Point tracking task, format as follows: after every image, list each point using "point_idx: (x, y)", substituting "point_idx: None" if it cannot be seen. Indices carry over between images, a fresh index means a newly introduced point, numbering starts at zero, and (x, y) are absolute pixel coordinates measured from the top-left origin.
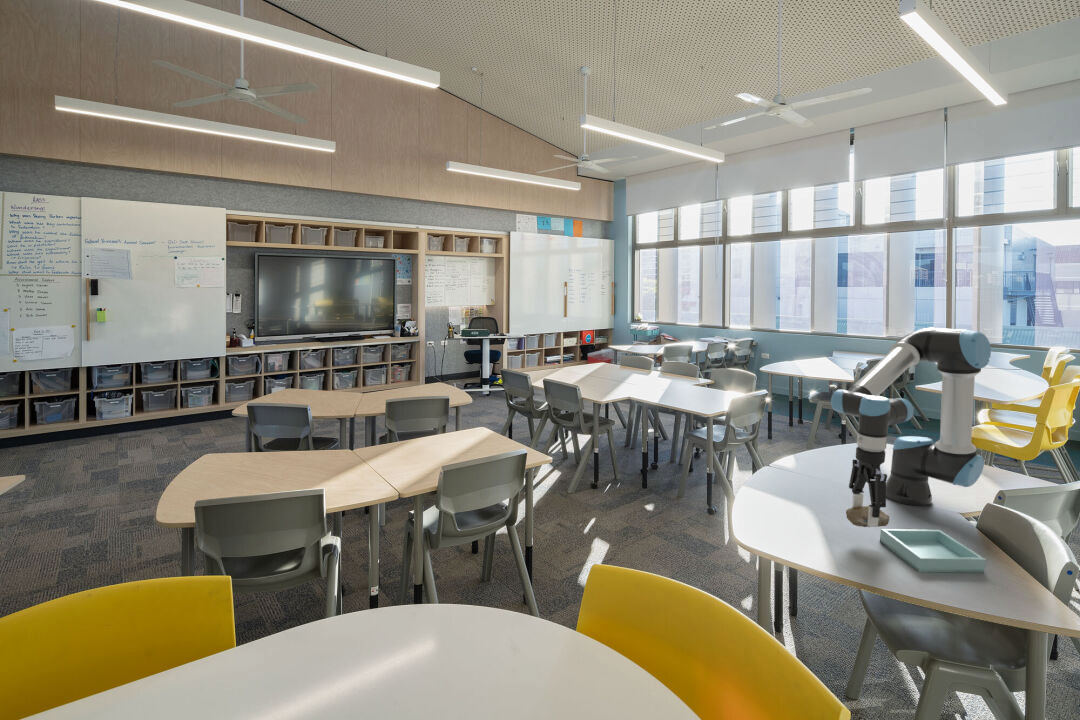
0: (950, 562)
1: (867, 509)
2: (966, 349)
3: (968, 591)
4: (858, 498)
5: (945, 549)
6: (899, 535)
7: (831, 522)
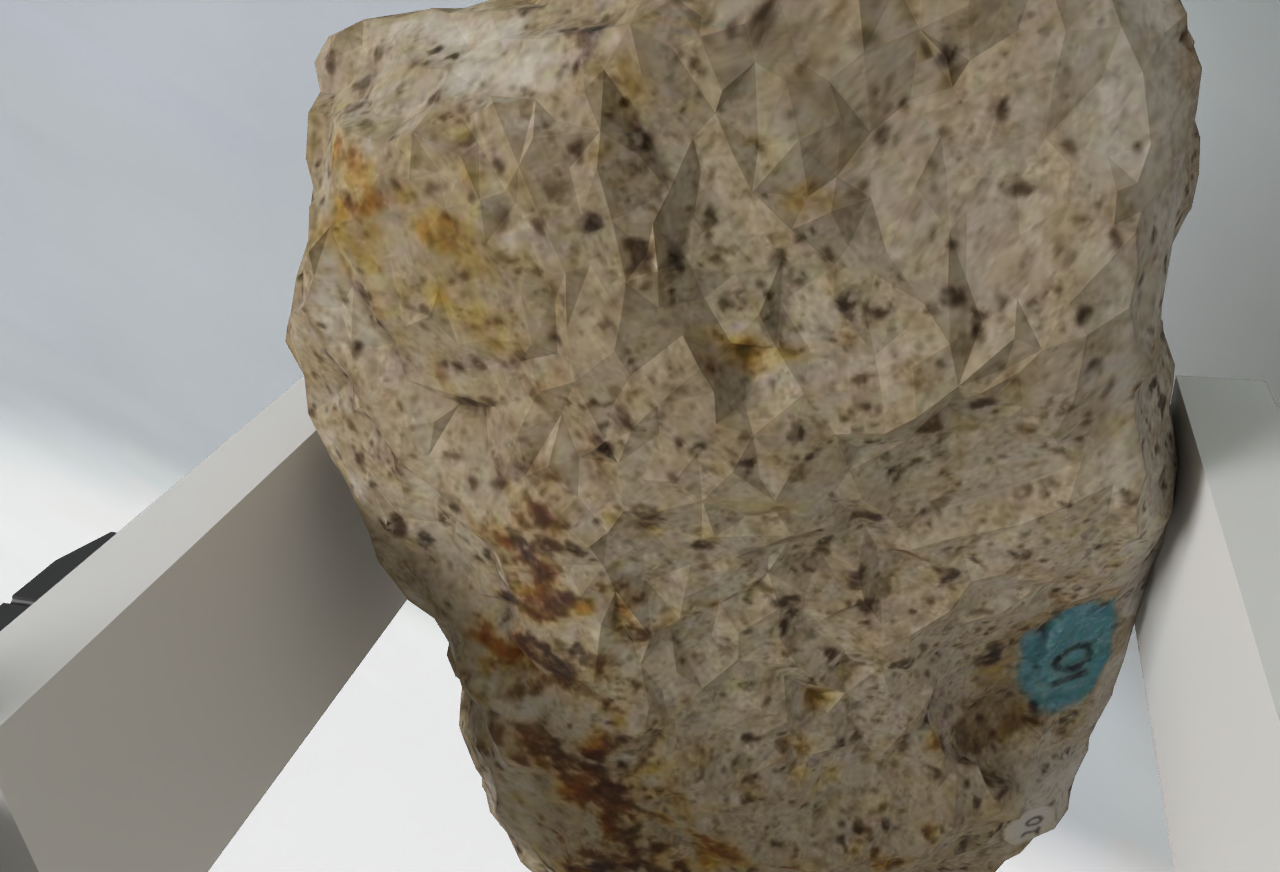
0: None
1: (674, 586)
2: None
3: None
4: (166, 766)
5: None
6: None
7: (143, 298)
